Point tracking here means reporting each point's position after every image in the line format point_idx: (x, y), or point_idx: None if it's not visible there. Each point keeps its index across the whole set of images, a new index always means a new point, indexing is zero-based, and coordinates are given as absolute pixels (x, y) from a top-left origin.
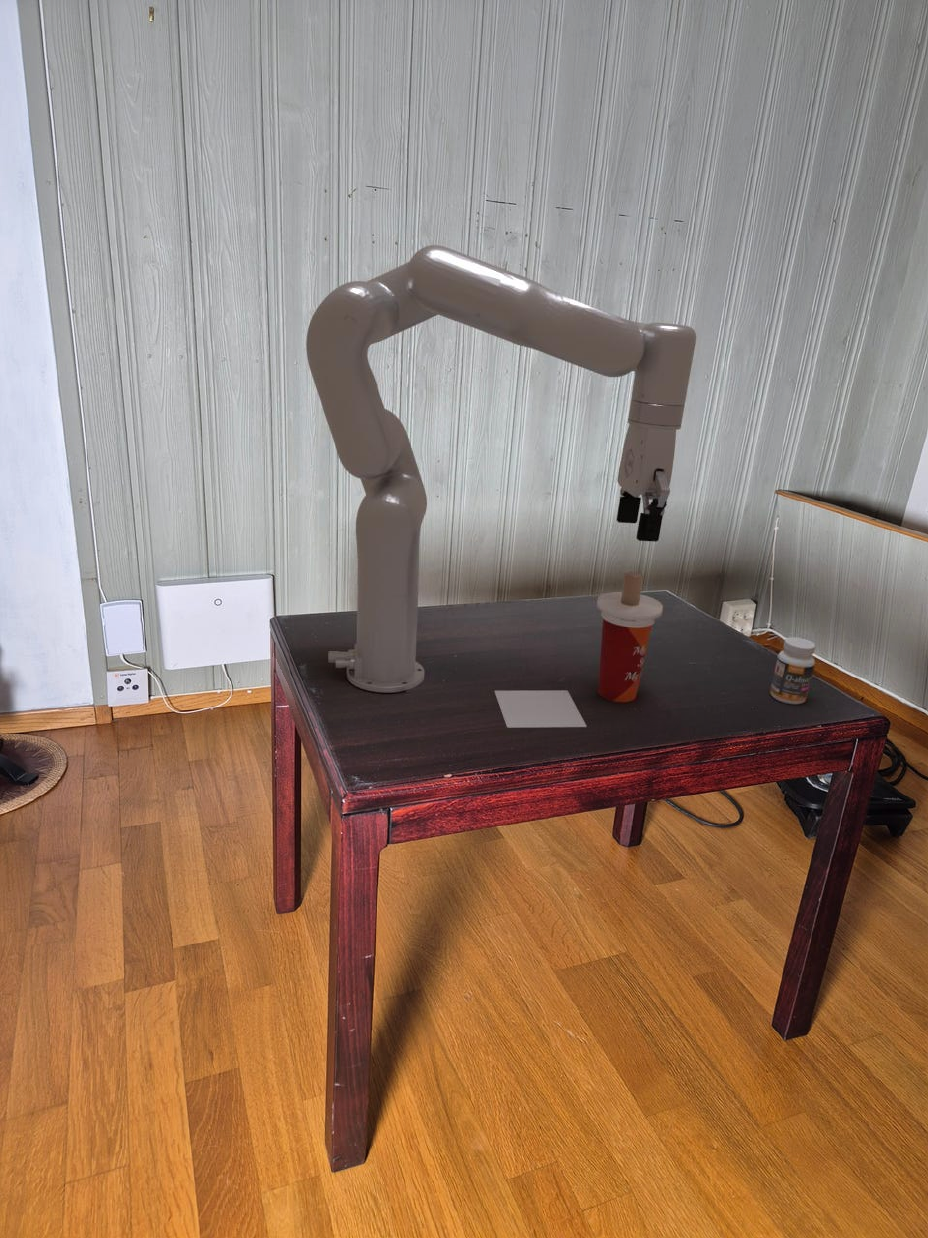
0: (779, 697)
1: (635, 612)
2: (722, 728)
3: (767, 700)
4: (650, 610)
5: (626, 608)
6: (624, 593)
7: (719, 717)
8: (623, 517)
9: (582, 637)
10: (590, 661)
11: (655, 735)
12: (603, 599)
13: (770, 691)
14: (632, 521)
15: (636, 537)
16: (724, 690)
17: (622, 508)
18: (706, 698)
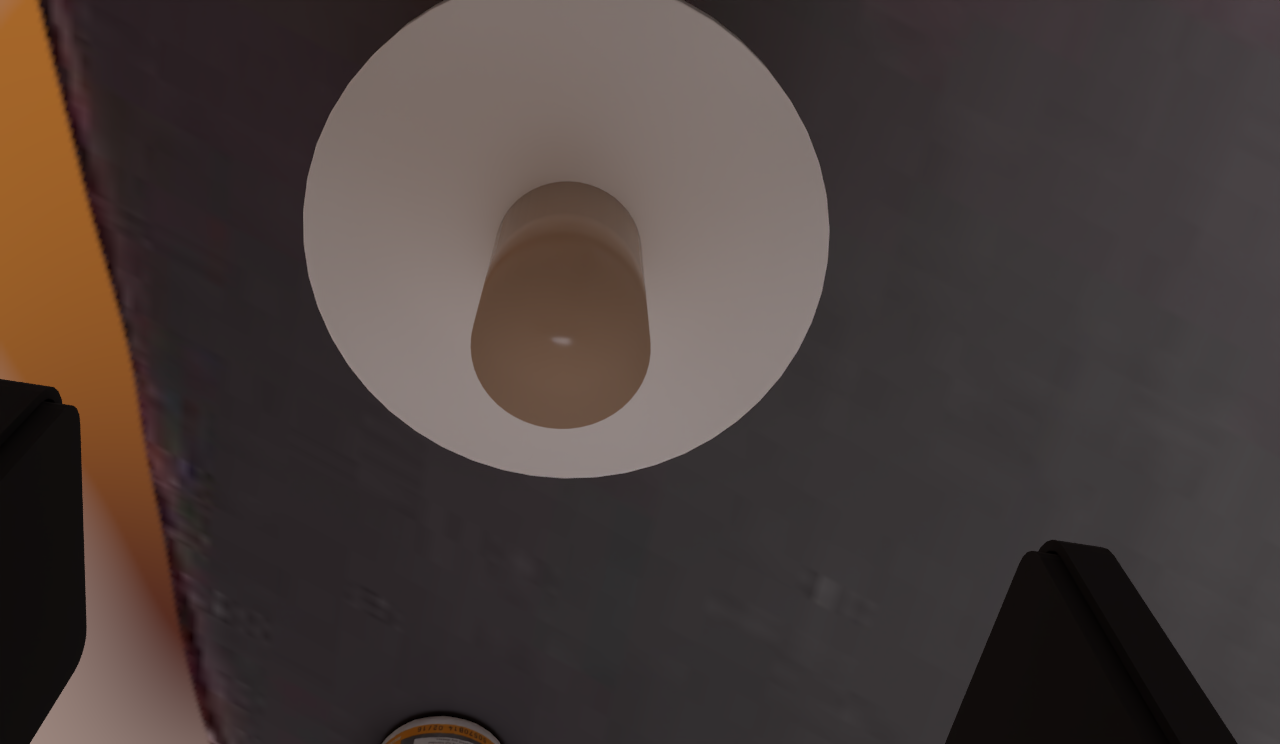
0: (410, 728)
1: (348, 189)
2: (212, 395)
3: (433, 685)
4: (383, 327)
5: (443, 159)
6: (549, 211)
7: (309, 435)
8: (1029, 646)
9: (1276, 232)
10: (987, 134)
11: (161, 68)
12: (675, 61)
13: (474, 727)
14: (966, 726)
15: (38, 387)
16: (545, 581)
17: (1106, 726)
18: (485, 474)
